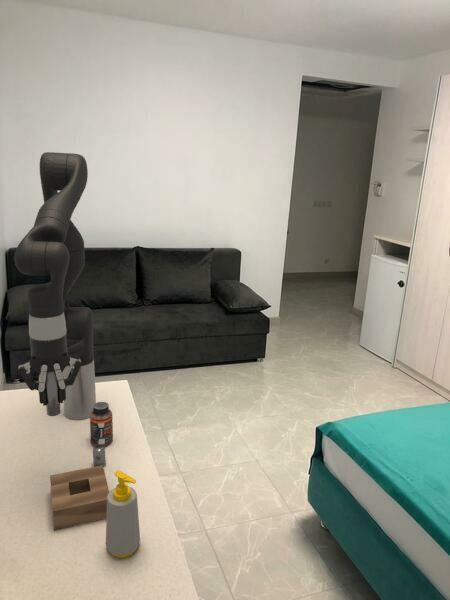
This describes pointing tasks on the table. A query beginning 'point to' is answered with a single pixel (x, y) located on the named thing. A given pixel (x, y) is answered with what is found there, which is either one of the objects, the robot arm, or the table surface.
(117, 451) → the table surface
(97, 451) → the short pin
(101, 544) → the table surface
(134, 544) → the soap bottle
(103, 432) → the supplement bottle
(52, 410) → the tall pin
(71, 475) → the guide block
